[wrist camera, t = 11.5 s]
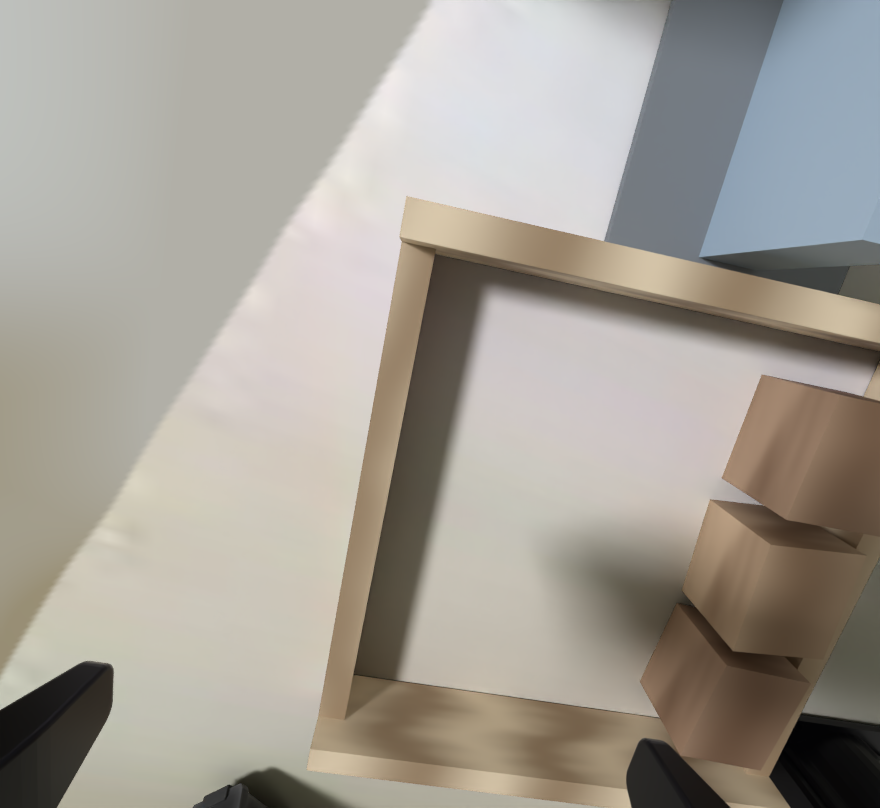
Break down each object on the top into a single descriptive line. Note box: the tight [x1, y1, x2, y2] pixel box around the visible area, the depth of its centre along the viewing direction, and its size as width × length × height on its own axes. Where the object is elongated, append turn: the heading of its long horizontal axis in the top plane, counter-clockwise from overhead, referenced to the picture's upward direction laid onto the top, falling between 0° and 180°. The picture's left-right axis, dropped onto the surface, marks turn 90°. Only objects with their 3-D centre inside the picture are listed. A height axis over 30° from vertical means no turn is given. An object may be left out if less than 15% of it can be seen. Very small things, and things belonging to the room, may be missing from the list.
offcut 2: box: [682, 500, 867, 660], centre depth 20 cm, size 4×5×4 cm
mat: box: [605, 0, 850, 295], centre depth 17 cm, size 10×13×1 cm
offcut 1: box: [722, 375, 880, 537], centre depth 19 cm, size 4×5×4 cm
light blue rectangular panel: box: [699, 0, 880, 270], centre depth 13 cm, size 2×12×7 cm, turn 169°
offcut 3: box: [640, 603, 811, 771], centre depth 22 cm, size 4×5×4 cm
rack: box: [307, 196, 880, 808], centre depth 20 cm, size 22×23×4 cm
